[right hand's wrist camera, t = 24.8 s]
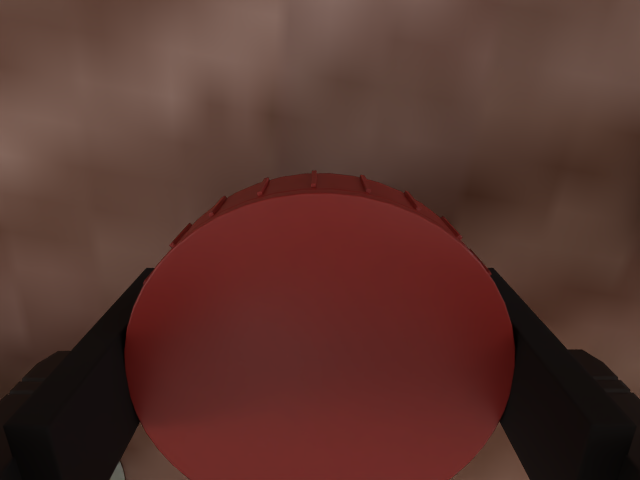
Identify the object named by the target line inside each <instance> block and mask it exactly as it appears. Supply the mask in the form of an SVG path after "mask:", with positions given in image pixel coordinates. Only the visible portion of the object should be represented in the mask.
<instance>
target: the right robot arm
mask: <svg viewBox="0 0 640 480" xmlns="http://www.w3.org/2000/svg"><path fill="white" fill-rule="evenodd" d="M154 269H155V268H146V269H145V270H144V271H143V272H142V274H141V275H140V276H139V277H138V278H137V279H136V280H135V281H134V282H133V283H132V285H131V286H130V287H129V288H128V289H127V290H126V291H125V292H124V293H123V294H122V296H121V297H120V298H119V299H118V300H117V301H116V302H115V303H114V304H113V305H112V306H111V308H110V309H109V310H108V311H107V312H106V313H105V314H104V315H103V316H102V317H101V319H100V320H99V321H98V322H97V323H96V324H95V325H94V326H93V327H92V328H91V330H90V331H89V332H88V333H87V334H86V335H85V336H84V337H83V338H82V339H81V341H80V342H79V343H78V344H77V345H76V346H75V347H74V348H73V349H72V350H71V351H57V352H56V353H54V354H52V355H51V356H49V357H47V358H46V359H44V360H43V361H41V362H39V363H38V364H36V365H35V366H34V367H33V368H32V369H31V370H30V371H29V373H28V374H27V375H26V376H25V377H24V378H23V379H22V382H19V383H18V384H17V385H16V386H15V387H14V388H13V389H12V390H11V391H10V394H9V395H6V396H5V397H4V398H3V399H2V400H1V401H0V480H110V478H111V476H112V474H113V472H114V470H115V469H116V467H117V465H118V463H119V461H120V459H121V457H122V455H123V453H124V451H125V449H126V448H127V446H128V444H129V442H130V440H131V438H132V436H133V434H134V432H135V430H136V428H137V426H138V425H139V423H140V420H139V418H138V416H137V414H136V412H135V409H134V406H133V403H132V400H131V398H130V393H129V388H128V382H127V377H126V371H125V358H124V348H125V340H126V332H127V326H128V323H129V320H130V316H131V313H132V309H133V306H134V304H135V302H136V300H137V298H138V296H139V293H140V291H141V289H142V287H143V285H144V284H143V282H144V280H145V279H146V278H147V277H148V276H149V274H150V273H151V272H152V271H153V270H154ZM488 270H489V271H490V272H491V274H492V275H490V277H491V278H492V279H493V281H494V282H495V284H496V286H497V288H498V290H499V292H500V294H501V296H502V298H503V300H504V302H505V305H506V308H507V311H508V314H509V317H510V321H511V324H512V329H513V336H514V343H515V368H514V374H513V379H512V385H511V391H510V395H509V399H508V402H507V405H506V408H505V411H504V413H503V415H502V417H501V419H500V423H501V425H502V427H503V429H504V431H505V433H506V435H507V437H508V438H509V440H510V442H511V444H512V446H513V448H514V450H515V452H516V454H517V456H518V458H519V460H520V461H521V463H522V465H523V467H524V469H525V471H526V473H527V475H528V477H529V479H530V480H640V399H639V398H638V397H637V396H636V395H635V394H634V393H631V392H630V389H629V388H628V387H627V386H626V385H625V384H624V383H623V382H622V381H621V380H618V377H617V376H616V375H615V374H614V373H613V372H612V371H611V370H610V369H609V368H608V367H607V366H606V365H605V364H604V363H603V362H602V361H600V360H598V359H597V358H595V357H593V356H592V355H590V354H588V353H587V352H585V351H583V350H567V349H566V347H565V346H564V345H563V344H562V343H561V342H560V341H559V340H558V339H557V338H556V336H555V335H554V334H553V333H552V332H551V331H550V330H549V329H548V328H547V327H546V325H545V324H544V323H543V322H542V321H541V320H540V319H539V318H538V317H537V316H536V315H535V313H534V312H533V311H532V310H531V309H530V308H529V307H528V306H527V305H526V304H525V302H524V301H523V300H522V299H521V298H520V297H519V296H518V295H517V294H516V293H515V291H514V290H513V289H512V288H511V287H510V286H509V285H508V284H507V283H506V282H505V280H504V279H503V278H502V277H501V276H500V275H499V274H498V273H497V272H496V271H495V269H494V268H488Z"/></svg>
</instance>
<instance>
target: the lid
mask: <svg viewBox="0 0 640 480" xmlns="http://www.w3.org/2000/svg"><path fill="white" fill-rule="evenodd" d="M461 239H462V236H461V235H460V234H459V233H458V232H457V231H456V230H455V228H454V227H453V226H452V225H451V224H450V223H449V222H448V221H447V220H446V218H444V217H443V216H442V217H441V218H440V217H439V216H437V215H436V214H435V213H433V212H432V211H431V210H430V209H428V208H427V207H426V206H424V205H423V204H422V203H420V202H419V201H417V200H415V199H414V198H413V197H412V196H411V194H410V193H409V192H407V191H405V192H404V193H403V192H401V191H399V190H396V189H394V188H391V187H389V186H386V185H384V184H381V183H379V182H375V181H371V180H367V179H366V177H365V176H364V175H360V178H359V177H356V176H348V175H340V174H331V173H317V171H316V170H314V171H312V174H299V175H292V176H285V177H279V178H276V179H272V180H269V178H264V180H263V182H261V183H258V184H255V185H253V186H251V187H248V188H246V189H244V190H241V191H239V192H237V193H235V194H233V195H231V196H230V197H228V198H226V196H223V197H222V198H221V199H220V200H219V201H218V202H217V204H216V205H215V206H214V207H212V208H211V209H210V210H209V211H207V212H206V213H205V214H204V215H202V216H201V217H200V218H199V219H198V220H197V221H196V222H195V223H194V224H193V225H192V224H190V223H189V224H188V225H187V226H186V227H185V228H184V229H183V231H182V232H181V233H180V234H179V235H178V236H177V237H176V238H175V239H174V241H173V242H172V243H171V244H170V245H169V246H170V247H172V248H171V250H170V251H169V252H168V253H167V254H166V255H165V257H164V258H163V259H162V260H161V261H160V262H159V263H158V265H157V266H156V267H155V269H154V270H153V271H152V272H151V273H150V274H149V276H148V277H147V278H146V279H145V280H144V282H143V284H144V285H143V287H142V289H141V291H140V293H139V296H138V298H137V300H136V302H135V304H134V306H133V309H132V313H131V316H130V320H129V323H128V326H127V332H126V340H125V348H124V358H125V371H126V377H127V382H128V388H129V393H130V398H131V400H132V403H133V406H134V409H135V412H136V414H137V416H138V418H139V420H140V422H141V424H142V426H143V427H144V429H145V431H146V433H147V434H148V436H149V437H150V439H151V440H152V441H153V443H154V444H155V446H156V447H157V448H158V450H159V451H160V452H161V453H162V454H163V455H164V456H165V457H166V458H167V459H168V460H169V462H170V463H171V464H172V465H173V466H175V467H176V468H177V469H178V470H179V471H180V472H182V473H183V474H184V475H185V476H186V477H187V478H189V479H190V480H449V479H450V478H452V477H453V476H454V475H456V474H457V473H458V472H459V471H460V470H461V469H462V468H464V467H465V466H466V465H467V464H468V463H469V462H470V461H471V460H472V459H473V458H474V457H475V455H476V454H477V453H478V452H479V451H480V450H481V449H482V448H483V446H484V445H485V443H486V442H487V441H488V439H489V438H490V436H491V435H492V433H493V432H494V430H495V429H496V427H497V425H498V423H499V421H500V419H501V417H502V415H503V413H504V411H505V408H506V405H507V402H508V399H509V395H510V391H511V385H512V379H513V374H514V368H515V343H514V336H513V329H512V324H511V321H510V317H509V314H508V311H507V308H506V305H505V302H504V300H503V298H502V296H501V294H500V292H499V290H498V288H497V286H496V284H495V282H494V281H493V279H492V278H491V277H490V275H492V274H491V272H490V271H489V270H488V268H487V267H486V266H485V265H484V264H483V263H482V262H481V261H480V259H479V258H478V257H477V256H476V255H475V254H474V253H473V251H472V250H471V249H468V248H467V246H466V245H465V244H464V243H463V242H462V241H461Z"/></svg>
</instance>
